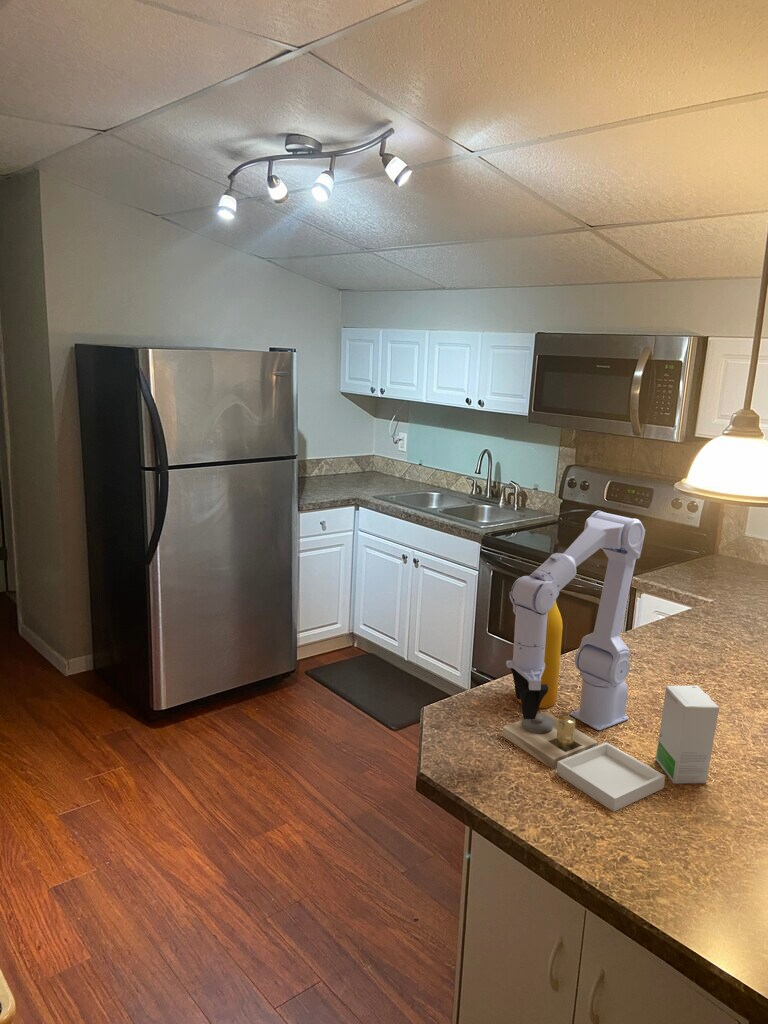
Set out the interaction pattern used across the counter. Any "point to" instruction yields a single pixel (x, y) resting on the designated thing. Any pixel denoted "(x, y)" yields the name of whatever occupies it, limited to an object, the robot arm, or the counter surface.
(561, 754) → the tensioner bracket
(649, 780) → the tray
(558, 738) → the lock pin
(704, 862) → the counter surface
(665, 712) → the skincare box
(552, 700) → the beer bottle
